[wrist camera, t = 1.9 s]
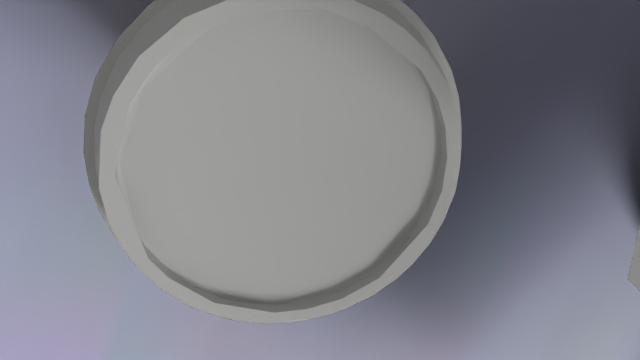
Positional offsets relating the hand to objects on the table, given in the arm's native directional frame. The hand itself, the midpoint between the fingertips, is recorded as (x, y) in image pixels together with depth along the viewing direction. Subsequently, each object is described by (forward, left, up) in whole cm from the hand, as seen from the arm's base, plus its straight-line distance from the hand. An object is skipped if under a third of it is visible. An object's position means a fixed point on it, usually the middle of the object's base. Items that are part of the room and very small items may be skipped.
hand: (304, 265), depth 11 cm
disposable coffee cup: (0, 0, -16) cm, 16 cm away
